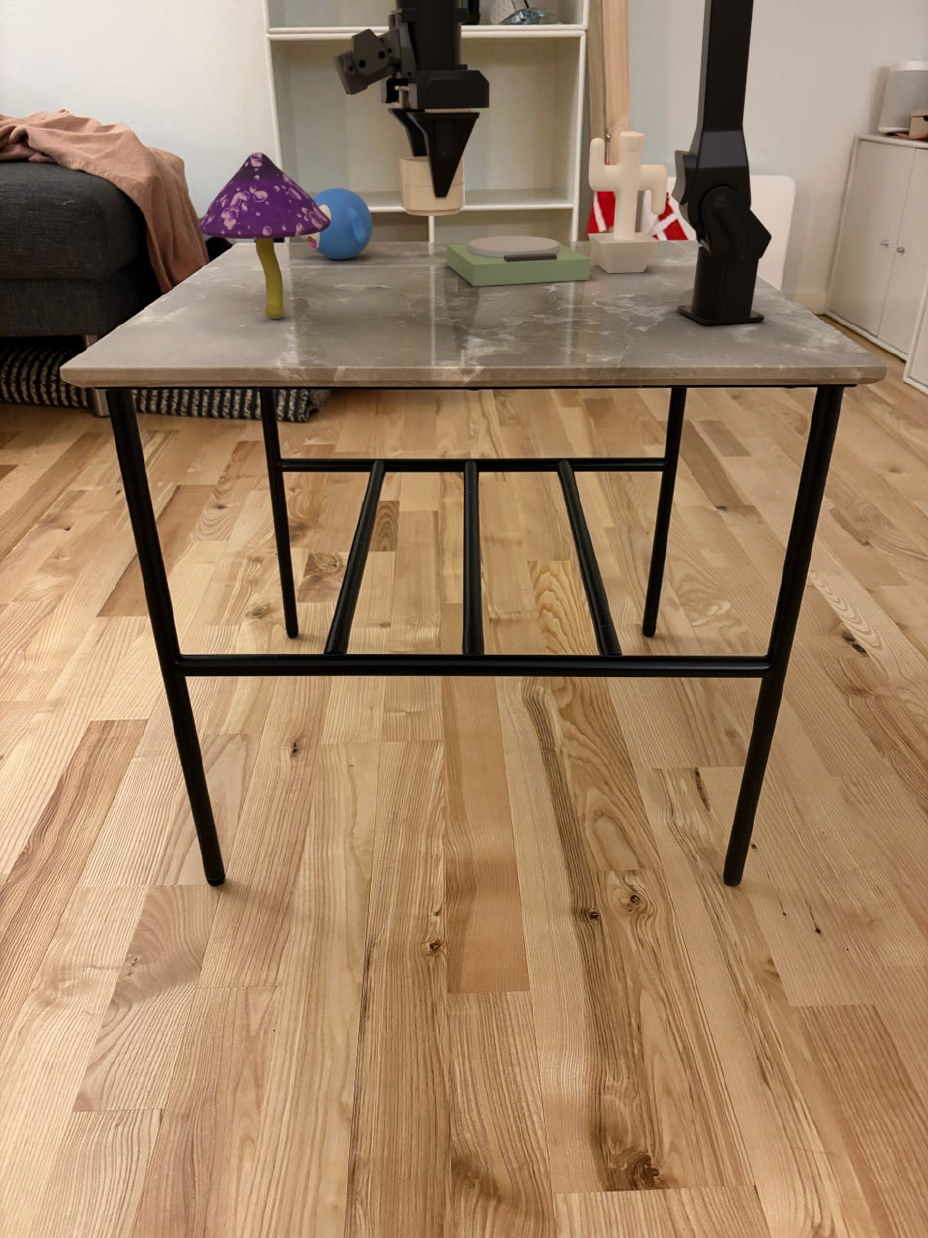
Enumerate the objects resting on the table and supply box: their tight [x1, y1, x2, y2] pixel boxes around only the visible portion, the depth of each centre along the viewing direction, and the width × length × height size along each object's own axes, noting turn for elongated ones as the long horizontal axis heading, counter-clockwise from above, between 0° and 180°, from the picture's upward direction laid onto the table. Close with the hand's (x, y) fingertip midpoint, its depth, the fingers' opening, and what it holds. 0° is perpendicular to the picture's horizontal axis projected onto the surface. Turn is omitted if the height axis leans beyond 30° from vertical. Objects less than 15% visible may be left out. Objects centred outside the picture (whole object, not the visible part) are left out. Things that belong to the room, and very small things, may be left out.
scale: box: [446, 235, 591, 287], centre depth 112 cm, size 14×14×3 cm
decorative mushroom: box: [197, 151, 331, 320], centre depth 88 cm, size 12×12×15 cm
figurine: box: [587, 130, 669, 274], centre depth 109 cm, size 7×9×15 cm
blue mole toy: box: [298, 187, 373, 260], centre depth 118 cm, size 12×12×8 cm
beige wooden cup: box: [398, 156, 466, 217], centre depth 87 cm, size 6×6×5 cm
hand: (433, 193), depth 88 cm, fingers closed on beige wooden cup, 6 cm apart
